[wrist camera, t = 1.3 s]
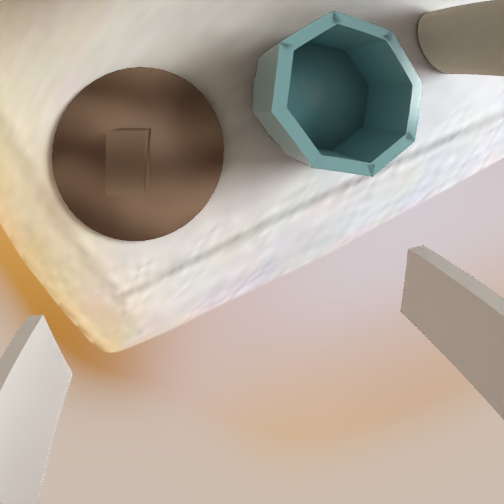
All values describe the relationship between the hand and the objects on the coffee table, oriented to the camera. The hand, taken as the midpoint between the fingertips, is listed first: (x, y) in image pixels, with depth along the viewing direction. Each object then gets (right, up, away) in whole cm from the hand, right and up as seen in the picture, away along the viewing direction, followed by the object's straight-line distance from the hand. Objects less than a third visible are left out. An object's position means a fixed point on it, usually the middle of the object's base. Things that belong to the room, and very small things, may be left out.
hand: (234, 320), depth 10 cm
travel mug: (+22, +26, +15) cm, 38 cm away
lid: (-10, +11, +16) cm, 22 cm away
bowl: (+7, +17, +17) cm, 24 cm away
